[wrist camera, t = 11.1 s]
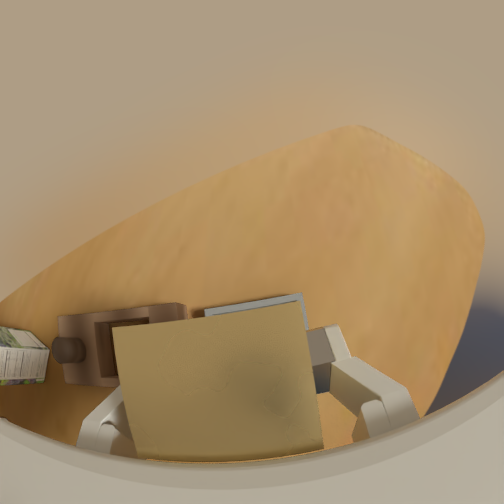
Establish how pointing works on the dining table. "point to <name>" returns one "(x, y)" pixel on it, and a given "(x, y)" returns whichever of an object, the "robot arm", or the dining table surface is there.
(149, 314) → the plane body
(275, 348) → the gold rectangular block
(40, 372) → the syrup box
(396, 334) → the dining table surface
